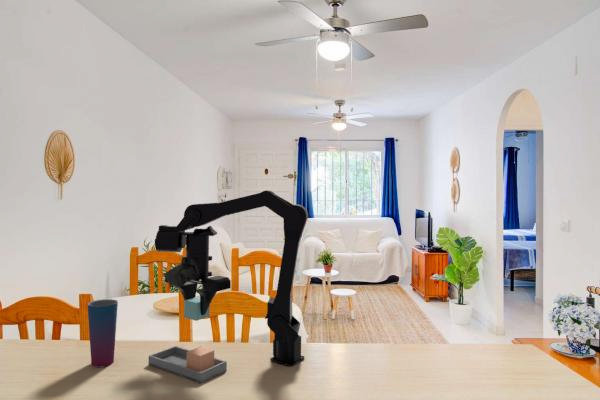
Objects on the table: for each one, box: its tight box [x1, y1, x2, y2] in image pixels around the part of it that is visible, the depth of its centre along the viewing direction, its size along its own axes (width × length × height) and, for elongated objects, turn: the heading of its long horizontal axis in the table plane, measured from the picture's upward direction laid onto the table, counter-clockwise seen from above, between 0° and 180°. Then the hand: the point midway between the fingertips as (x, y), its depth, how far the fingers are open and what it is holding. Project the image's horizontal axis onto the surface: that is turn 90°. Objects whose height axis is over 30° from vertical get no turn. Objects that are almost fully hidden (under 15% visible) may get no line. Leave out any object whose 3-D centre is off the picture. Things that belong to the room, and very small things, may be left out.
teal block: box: [183, 296, 211, 321], centre depth 113 cm, size 4×4×4 cm
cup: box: [87, 298, 119, 368], centre depth 108 cm, size 7×7×15 cm
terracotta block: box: [187, 346, 215, 372], centre depth 104 cm, size 4×4×4 cm
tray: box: [148, 345, 228, 384], centre depth 106 cm, size 18×8×2 cm, turn 56°
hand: (196, 313), depth 113 cm, fingers closed on teal block, 4 cm apart
